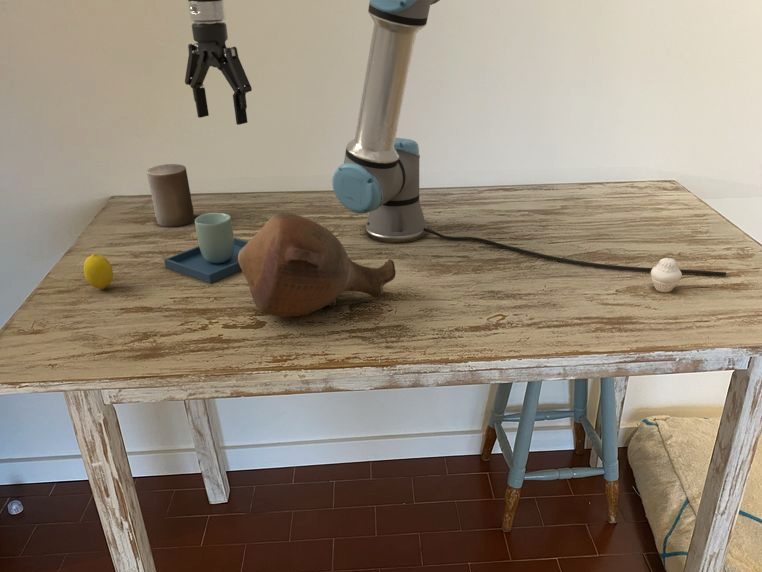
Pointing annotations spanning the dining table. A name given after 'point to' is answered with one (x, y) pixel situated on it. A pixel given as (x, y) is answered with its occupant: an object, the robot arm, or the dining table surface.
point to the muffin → (666, 275)
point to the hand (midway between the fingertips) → (222, 120)
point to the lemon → (98, 271)
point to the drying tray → (205, 264)
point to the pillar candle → (171, 195)
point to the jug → (303, 268)
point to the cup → (215, 237)
